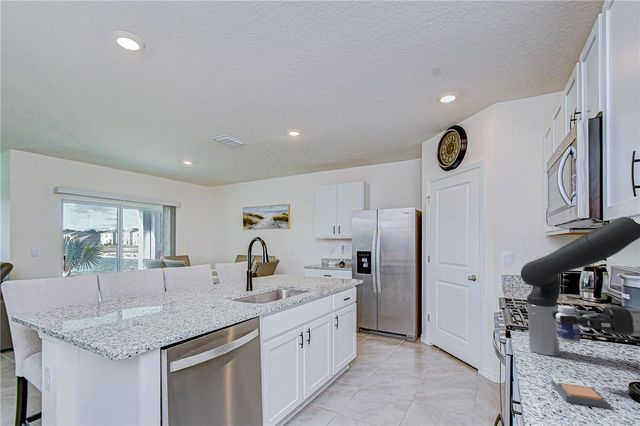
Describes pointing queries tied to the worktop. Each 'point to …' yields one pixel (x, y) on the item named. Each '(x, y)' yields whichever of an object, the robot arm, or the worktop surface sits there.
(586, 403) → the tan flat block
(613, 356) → the worktop surface
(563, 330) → the pill bottle
